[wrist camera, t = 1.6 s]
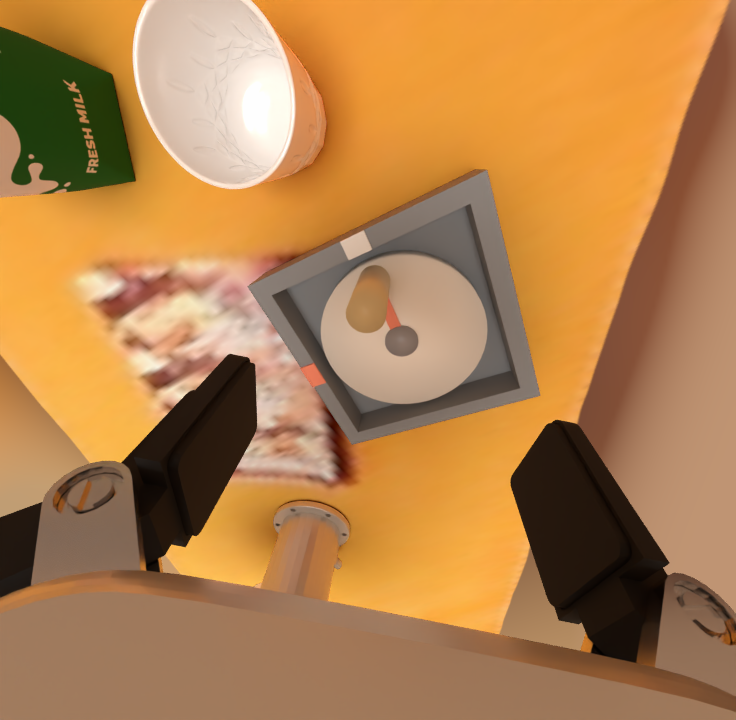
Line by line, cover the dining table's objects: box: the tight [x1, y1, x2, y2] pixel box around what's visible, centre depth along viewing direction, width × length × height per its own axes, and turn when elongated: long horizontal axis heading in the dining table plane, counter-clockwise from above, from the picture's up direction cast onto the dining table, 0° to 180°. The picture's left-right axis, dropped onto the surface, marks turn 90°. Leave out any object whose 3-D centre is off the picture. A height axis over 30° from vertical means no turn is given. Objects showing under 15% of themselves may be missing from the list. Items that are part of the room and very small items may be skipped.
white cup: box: [133, 0, 327, 189], centre depth 19 cm, size 8×8×10 cm
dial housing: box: [247, 169, 540, 445], centre depth 29 cm, size 20×20×4 cm
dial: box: [321, 250, 487, 404], centre depth 26 cm, size 15×15×9 cm
